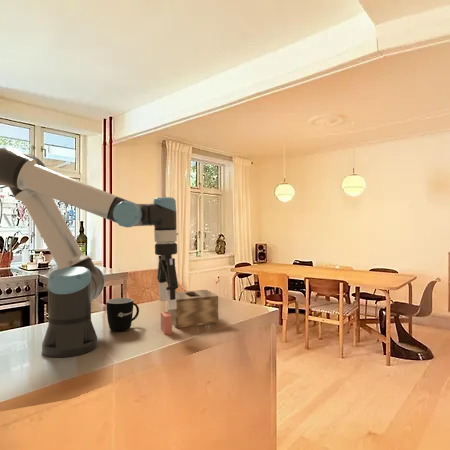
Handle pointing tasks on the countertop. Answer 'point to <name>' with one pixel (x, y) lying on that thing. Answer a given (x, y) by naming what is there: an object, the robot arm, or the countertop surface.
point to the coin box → (194, 308)
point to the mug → (120, 314)
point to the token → (166, 322)
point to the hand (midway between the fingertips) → (167, 304)
